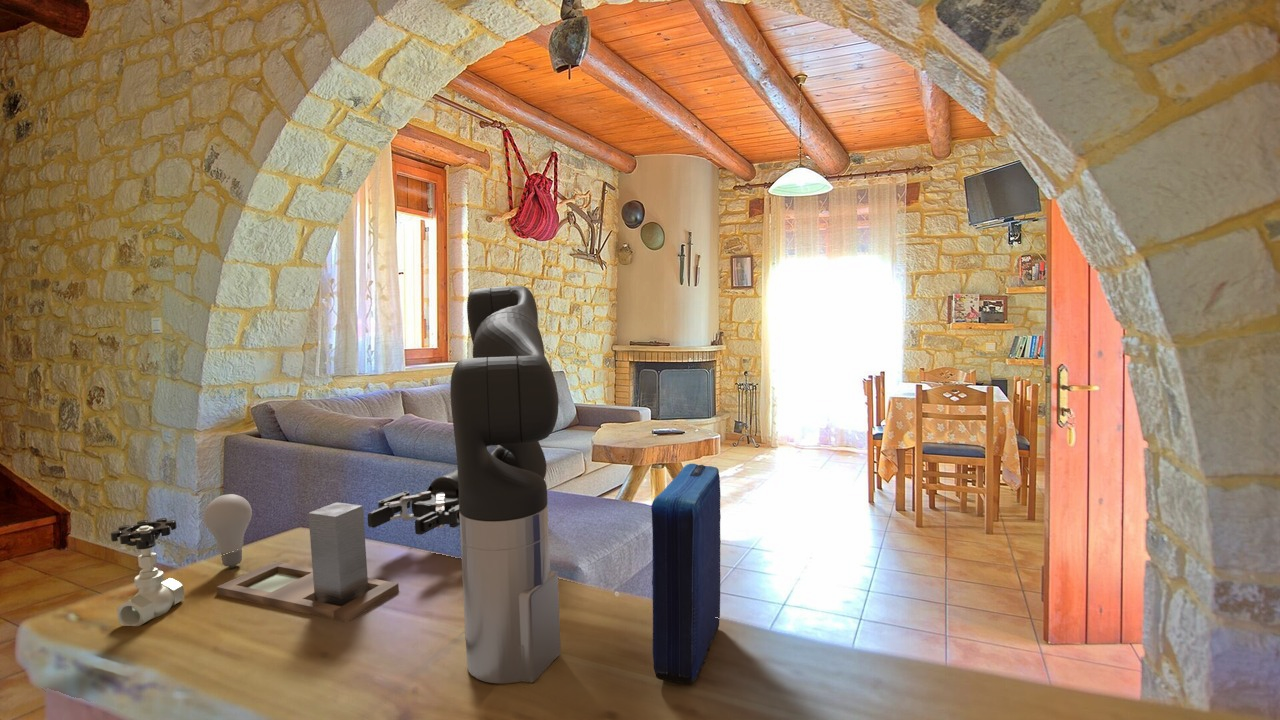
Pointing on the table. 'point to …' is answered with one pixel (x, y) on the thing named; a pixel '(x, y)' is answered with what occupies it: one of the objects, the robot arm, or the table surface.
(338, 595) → the metal block
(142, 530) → the valve
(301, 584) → the tray
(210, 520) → the lightbulb
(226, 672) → the table surface
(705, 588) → the blue case
